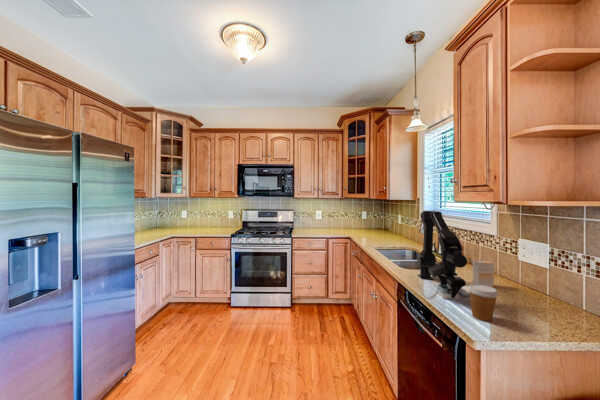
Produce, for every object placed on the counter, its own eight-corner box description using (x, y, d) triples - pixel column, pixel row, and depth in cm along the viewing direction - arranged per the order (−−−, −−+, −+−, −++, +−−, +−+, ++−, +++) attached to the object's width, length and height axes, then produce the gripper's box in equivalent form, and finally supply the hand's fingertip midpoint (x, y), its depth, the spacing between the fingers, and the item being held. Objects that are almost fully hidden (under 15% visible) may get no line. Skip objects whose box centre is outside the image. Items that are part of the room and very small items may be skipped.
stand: (450, 286, 127) (450, 283, 127) (477, 288, 125) (477, 285, 125) (464, 297, 114) (464, 293, 114) (493, 298, 113) (493, 295, 112)
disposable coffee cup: (471, 309, 102) (471, 281, 102) (499, 318, 95) (500, 288, 95) (464, 317, 96) (465, 287, 95) (494, 326, 88) (495, 294, 88)
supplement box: (488, 284, 131) (488, 260, 131) (494, 287, 126) (494, 262, 126) (472, 283, 132) (472, 260, 132) (477, 286, 127) (478, 262, 127)
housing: (437, 294, 117) (437, 284, 117) (453, 295, 117) (453, 285, 116) (442, 299, 112) (442, 288, 112) (458, 299, 112) (458, 289, 112)
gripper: (423, 255, 124) (422, 285, 125) (439, 266, 106) (438, 301, 106) (445, 256, 123) (445, 286, 123) (466, 267, 105) (465, 302, 105)
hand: (447, 293), depth 115 cm, fingers open, 9 cm apart
